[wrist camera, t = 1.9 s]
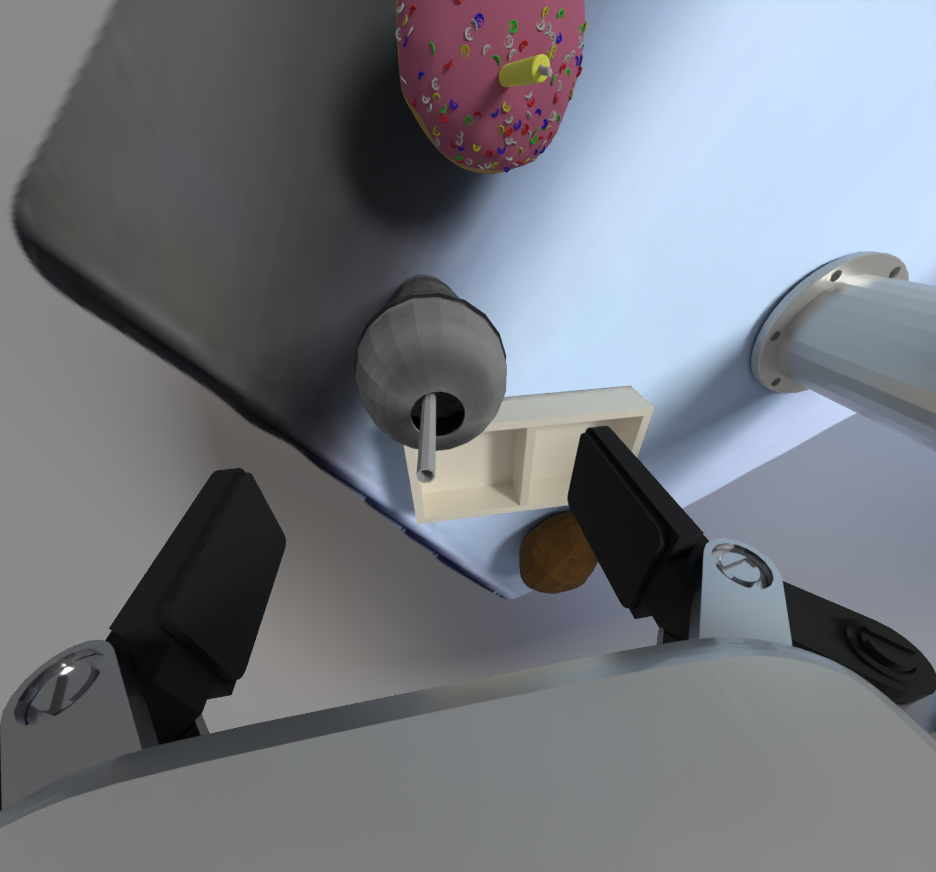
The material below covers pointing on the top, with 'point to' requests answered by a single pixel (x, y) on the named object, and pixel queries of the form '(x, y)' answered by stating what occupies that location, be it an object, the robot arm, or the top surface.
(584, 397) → the cup carrier
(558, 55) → the cupcake
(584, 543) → the potato
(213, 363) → the top surface
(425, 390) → the beverage cup
